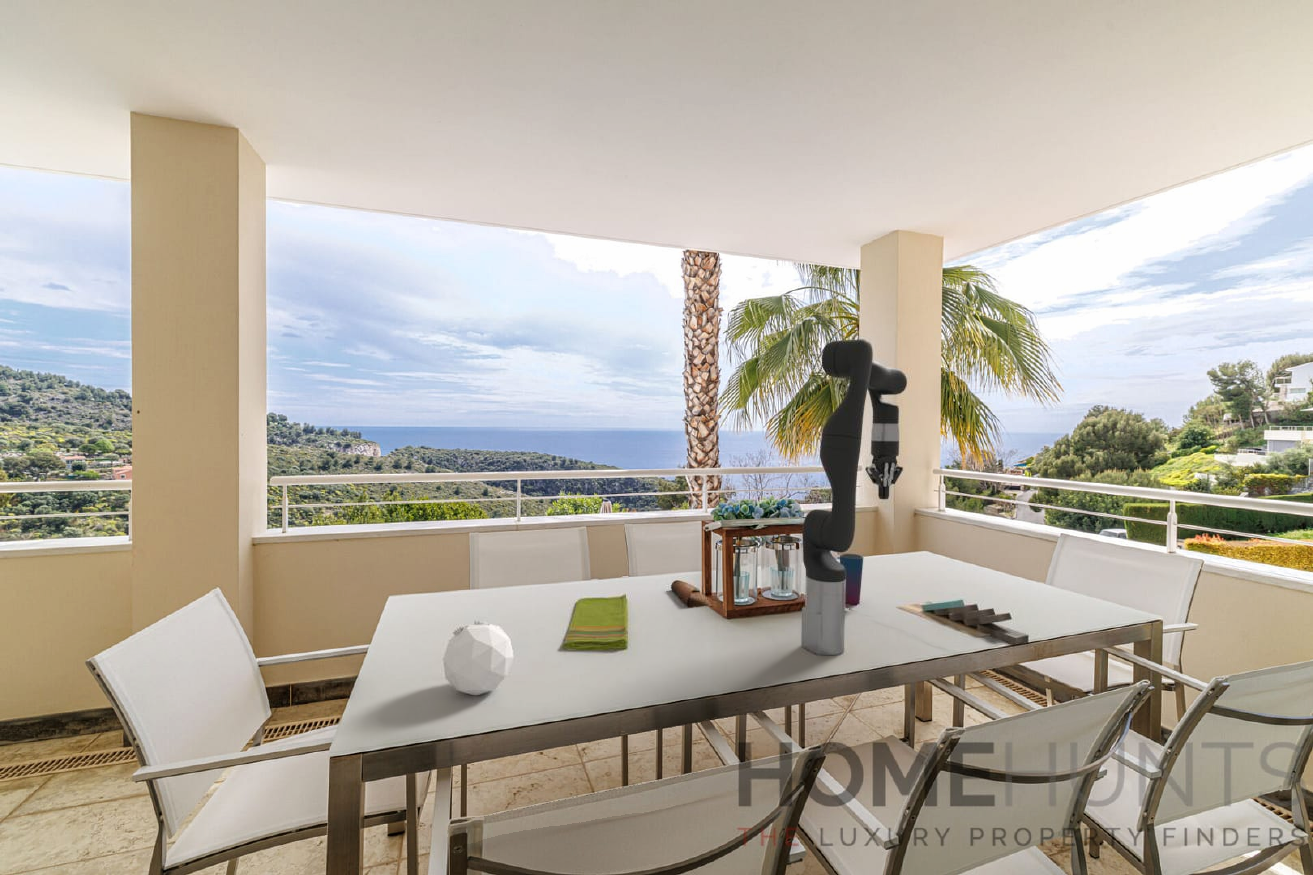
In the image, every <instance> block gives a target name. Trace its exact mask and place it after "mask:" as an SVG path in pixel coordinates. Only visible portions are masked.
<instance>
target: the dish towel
mask: <svg viewBox="0 0 1313 875" xmlns="http://www.w3.org/2000/svg"><path fill="white" fill-rule="evenodd" d="M575 604H576V605H575V608H574V611H573V615H572V616H573V617H572V619H571V622H570V625H569V628H568V630H567V634H566V636H565V640H564V642H563V644H562V646H563V650H566V651H567V650H568V651H569V650H571V651H574V650H575V651H577V650H578V651H582V650H583V651H587V650H588V651H591V650H592V651H597V650H599V651H602V650H603V651H612V650H613V651H614V650H615V651H616V650H617V651H620V650H628V645H629V634H628V633H629V632H628V631H629V630H628V629H629V624H628V623H629V618H628V616H629V611H628V610H629V609H628V598H627V594H626V593H624V594H622V595H621V596H620V595H619V596H609V597H604V596H603V597H584V598H583V597H582V598H579V599H577V602H576V603H575Z"/></svg>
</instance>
